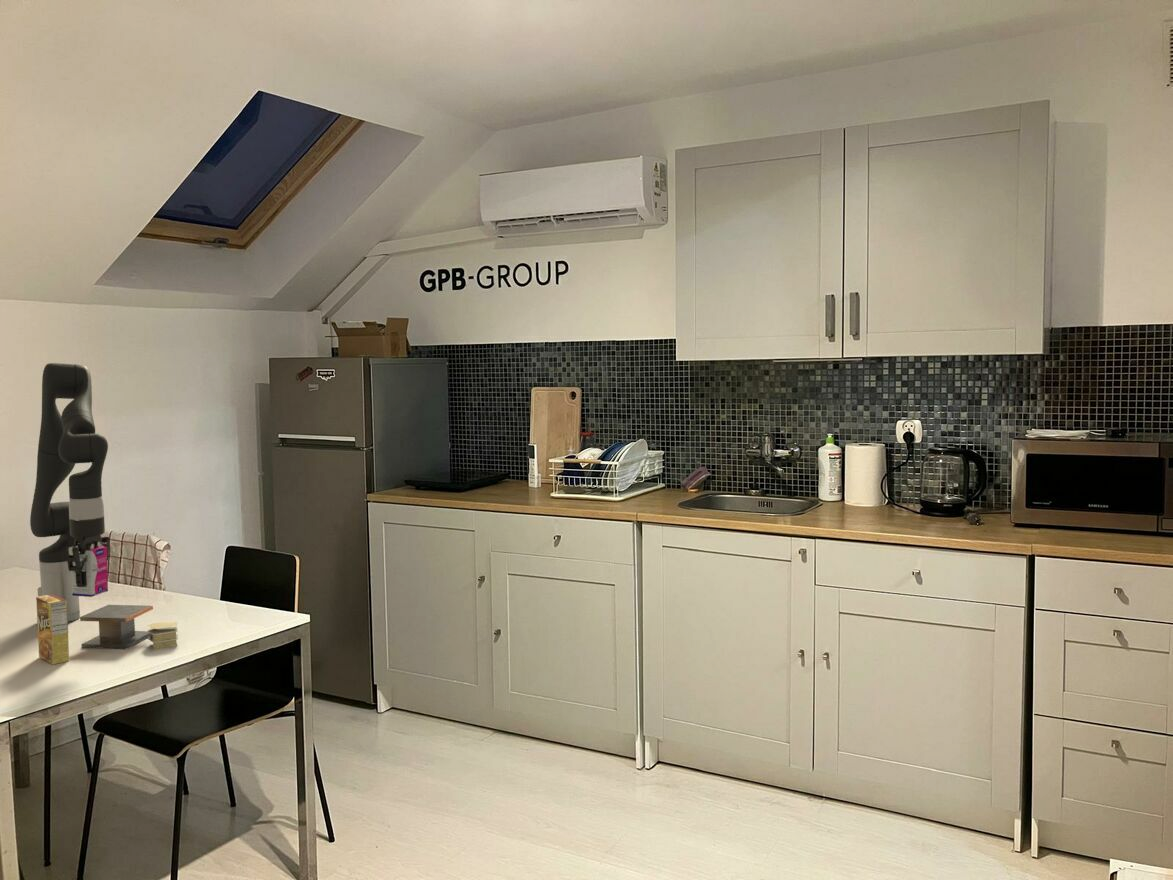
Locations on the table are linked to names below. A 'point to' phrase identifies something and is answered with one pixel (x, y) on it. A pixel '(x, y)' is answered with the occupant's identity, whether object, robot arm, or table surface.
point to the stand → (116, 626)
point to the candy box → (52, 629)
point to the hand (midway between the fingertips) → (90, 583)
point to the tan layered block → (163, 634)
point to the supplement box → (93, 573)
